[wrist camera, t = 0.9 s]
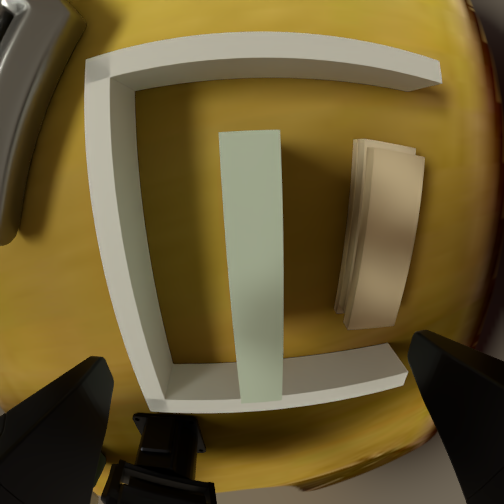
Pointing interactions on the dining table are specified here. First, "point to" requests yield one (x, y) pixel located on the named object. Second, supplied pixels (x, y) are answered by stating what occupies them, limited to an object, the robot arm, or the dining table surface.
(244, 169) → the pale green rectangular slab
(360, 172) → the offcut stack
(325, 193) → the dining table surface
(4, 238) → the emblem
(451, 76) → the dining table surface
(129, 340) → the rack
